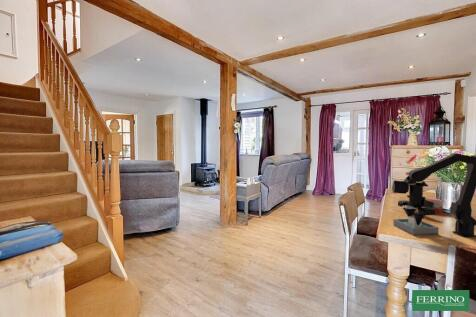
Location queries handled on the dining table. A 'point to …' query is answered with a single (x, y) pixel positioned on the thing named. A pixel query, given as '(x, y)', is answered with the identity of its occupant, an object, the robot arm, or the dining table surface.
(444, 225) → the dining table surface
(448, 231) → the dining table surface
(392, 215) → the dining table surface
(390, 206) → the dining table surface
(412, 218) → the cube with square boss
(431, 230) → the box
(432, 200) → the medicine box
